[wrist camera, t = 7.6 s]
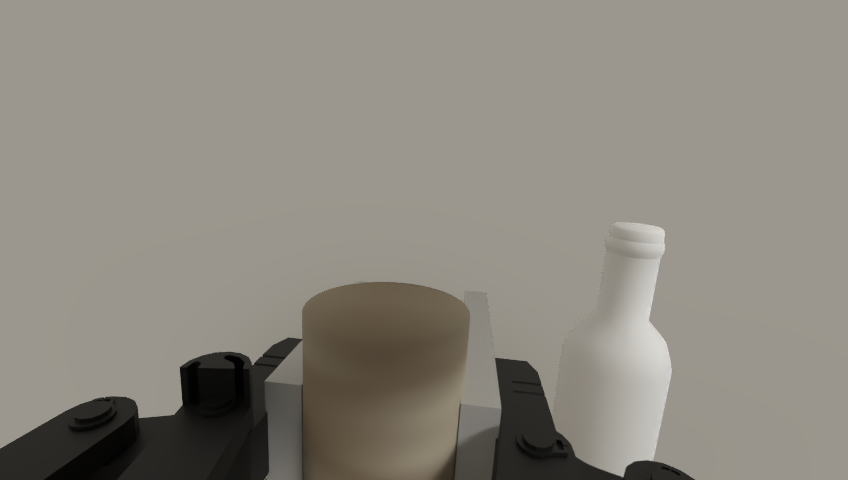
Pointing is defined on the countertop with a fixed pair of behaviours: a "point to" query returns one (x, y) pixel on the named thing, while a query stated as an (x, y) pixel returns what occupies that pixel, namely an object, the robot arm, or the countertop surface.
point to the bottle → (616, 359)
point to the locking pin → (382, 382)
